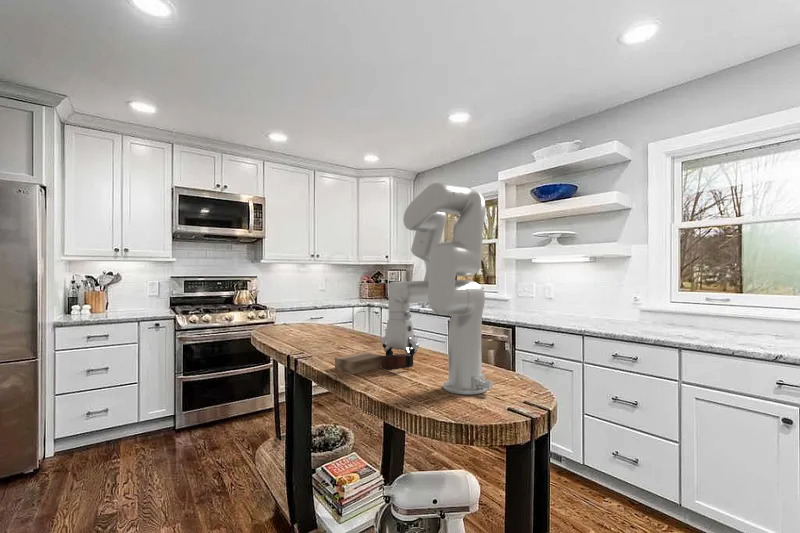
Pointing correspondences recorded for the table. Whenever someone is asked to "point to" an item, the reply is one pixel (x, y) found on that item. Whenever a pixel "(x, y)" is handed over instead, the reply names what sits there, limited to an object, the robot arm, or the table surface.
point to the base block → (358, 362)
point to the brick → (394, 361)
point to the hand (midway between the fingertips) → (399, 364)
